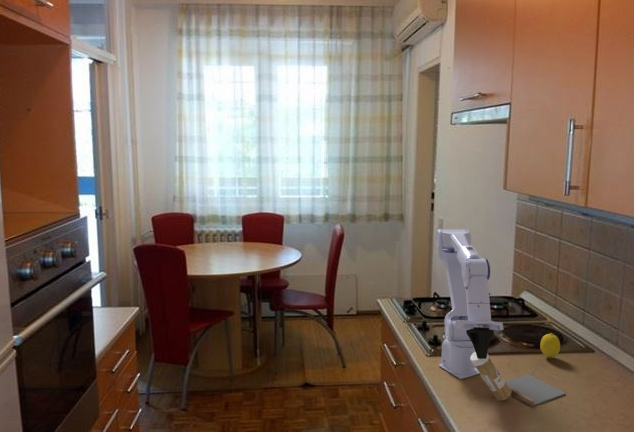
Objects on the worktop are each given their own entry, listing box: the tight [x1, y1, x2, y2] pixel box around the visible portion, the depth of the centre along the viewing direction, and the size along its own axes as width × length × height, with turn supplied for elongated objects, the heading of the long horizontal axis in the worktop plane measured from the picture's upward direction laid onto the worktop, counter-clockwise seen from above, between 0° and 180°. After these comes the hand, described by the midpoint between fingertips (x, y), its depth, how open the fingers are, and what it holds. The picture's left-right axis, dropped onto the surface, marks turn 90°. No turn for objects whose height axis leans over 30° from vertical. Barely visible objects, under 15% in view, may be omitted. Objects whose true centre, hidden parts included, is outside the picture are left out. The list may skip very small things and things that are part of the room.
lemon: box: [539, 332, 561, 359], centre depth 158 cm, size 6×6×8 cm
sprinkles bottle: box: [470, 352, 512, 402], centre depth 133 cm, size 5×5×13 cm
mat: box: [505, 374, 566, 408], centre depth 139 cm, size 12×13×2 cm
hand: (482, 358), depth 130 cm, fingers closed, pressing on sprinkles bottle
